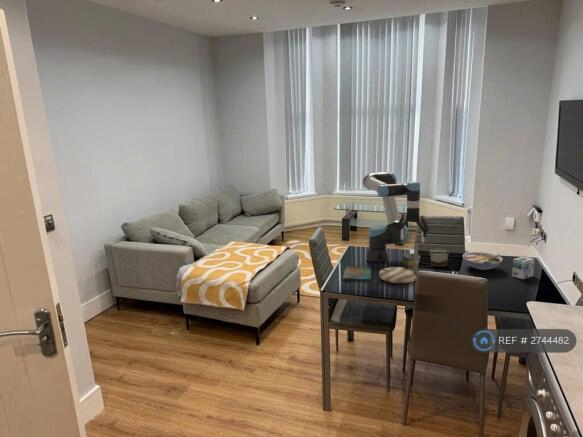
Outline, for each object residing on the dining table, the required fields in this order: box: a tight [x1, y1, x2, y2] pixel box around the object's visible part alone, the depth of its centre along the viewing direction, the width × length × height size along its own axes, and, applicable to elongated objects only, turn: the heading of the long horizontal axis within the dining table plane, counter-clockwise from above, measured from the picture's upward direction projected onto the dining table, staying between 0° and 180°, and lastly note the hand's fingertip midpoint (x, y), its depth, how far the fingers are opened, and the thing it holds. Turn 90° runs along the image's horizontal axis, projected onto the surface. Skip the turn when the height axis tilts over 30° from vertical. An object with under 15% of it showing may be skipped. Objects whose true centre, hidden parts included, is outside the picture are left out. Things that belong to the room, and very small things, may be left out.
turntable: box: [378, 245, 419, 284], centre depth 236 cm, size 22×22×19 cm
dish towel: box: [342, 266, 372, 283], centre depth 248 cm, size 17×23×2 cm
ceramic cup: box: [403, 253, 421, 270], centre depth 251 cm, size 13×10×10 cm
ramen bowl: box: [462, 251, 503, 271], centre depth 249 cm, size 25×23×8 cm
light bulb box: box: [511, 255, 536, 280], centre depth 234 cm, size 11×7×11 cm, turn 117°
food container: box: [428, 248, 450, 267], centre depth 260 cm, size 12×6×10 cm, turn 84°
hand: (412, 240), depth 248 cm, fingers open, 13 cm apart
